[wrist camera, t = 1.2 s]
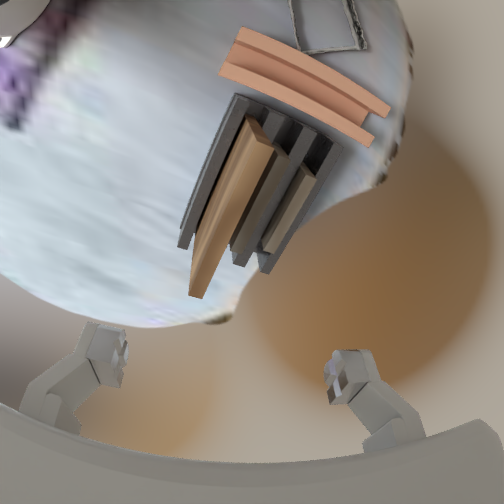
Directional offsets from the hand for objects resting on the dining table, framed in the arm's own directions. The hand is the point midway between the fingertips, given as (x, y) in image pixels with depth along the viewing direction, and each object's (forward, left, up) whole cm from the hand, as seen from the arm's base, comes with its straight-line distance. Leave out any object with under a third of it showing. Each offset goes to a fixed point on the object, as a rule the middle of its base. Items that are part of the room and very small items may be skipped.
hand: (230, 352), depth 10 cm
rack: (+6, -5, -34) cm, 35 cm away
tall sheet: (+2, -5, -33) cm, 33 cm away
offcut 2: (+11, -5, -33) cm, 35 cm away
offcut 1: (+6, -5, -33) cm, 34 cm away
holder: (+6, +11, -34) cm, 37 cm away
